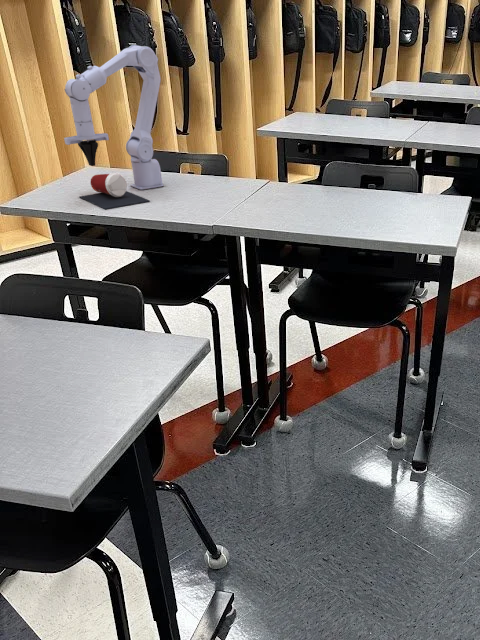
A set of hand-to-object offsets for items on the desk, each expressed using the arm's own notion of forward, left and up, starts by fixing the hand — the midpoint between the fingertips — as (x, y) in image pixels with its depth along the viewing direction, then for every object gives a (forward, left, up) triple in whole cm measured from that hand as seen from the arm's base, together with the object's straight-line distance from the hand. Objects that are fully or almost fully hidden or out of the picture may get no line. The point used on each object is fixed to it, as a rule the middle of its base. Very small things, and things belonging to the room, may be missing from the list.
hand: (92, 165), depth 224 cm
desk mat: (-1, +11, -9) cm, 14 cm away
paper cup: (-1, -2, -6) cm, 7 cm away
